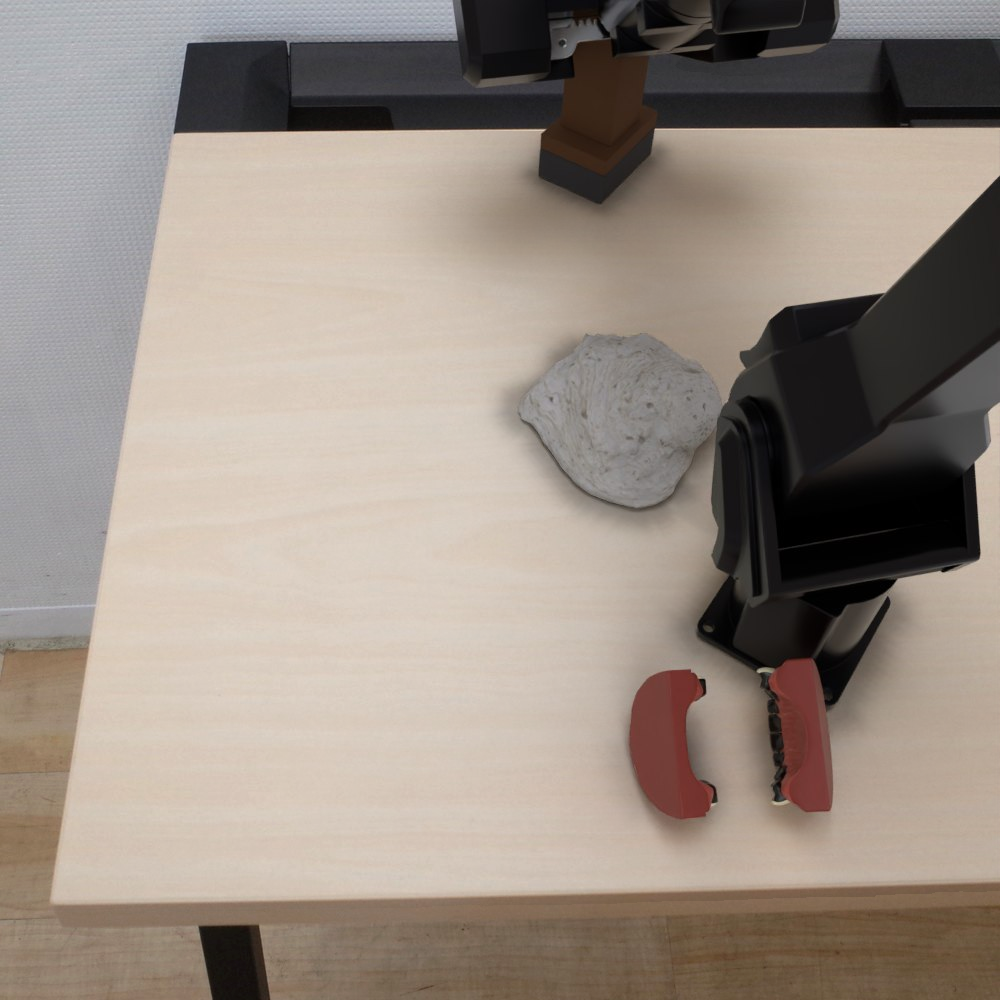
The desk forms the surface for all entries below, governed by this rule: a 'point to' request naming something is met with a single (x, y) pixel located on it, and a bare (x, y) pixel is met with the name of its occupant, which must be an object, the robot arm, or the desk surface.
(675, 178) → the desk surface
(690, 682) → the false teeth
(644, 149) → the stamp
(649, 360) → the stone
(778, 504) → the robot arm
